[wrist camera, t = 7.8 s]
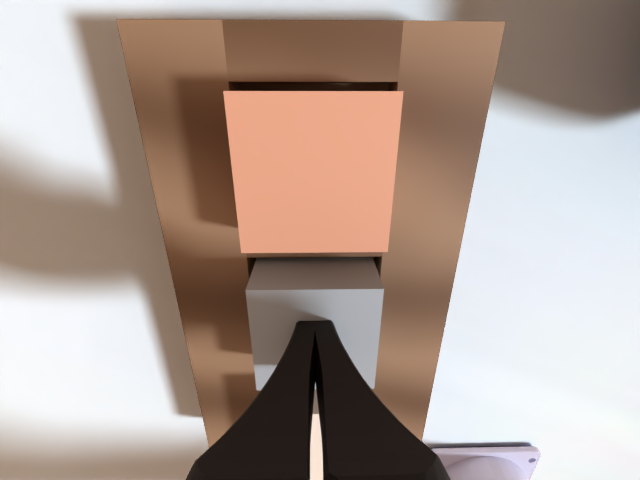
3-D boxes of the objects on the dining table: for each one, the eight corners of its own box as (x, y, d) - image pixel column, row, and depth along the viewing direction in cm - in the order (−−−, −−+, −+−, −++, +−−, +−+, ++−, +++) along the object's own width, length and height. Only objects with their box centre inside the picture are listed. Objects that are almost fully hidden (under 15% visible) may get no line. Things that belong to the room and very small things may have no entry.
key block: (404, 417, 22) (417, 463, 19) (226, 420, 22) (213, 467, 19) (464, 36, 13) (505, 21, 10) (158, 35, 13) (116, 19, 10)
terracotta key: (371, 216, 14) (387, 251, 11) (257, 217, 14) (241, 252, 11) (379, 91, 12) (403, 91, 9) (246, 91, 12) (223, 90, 9)
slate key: (362, 333, 17) (374, 388, 14) (267, 334, 17) (256, 390, 14) (368, 247, 15) (384, 288, 12) (259, 247, 15) (245, 290, 12)
